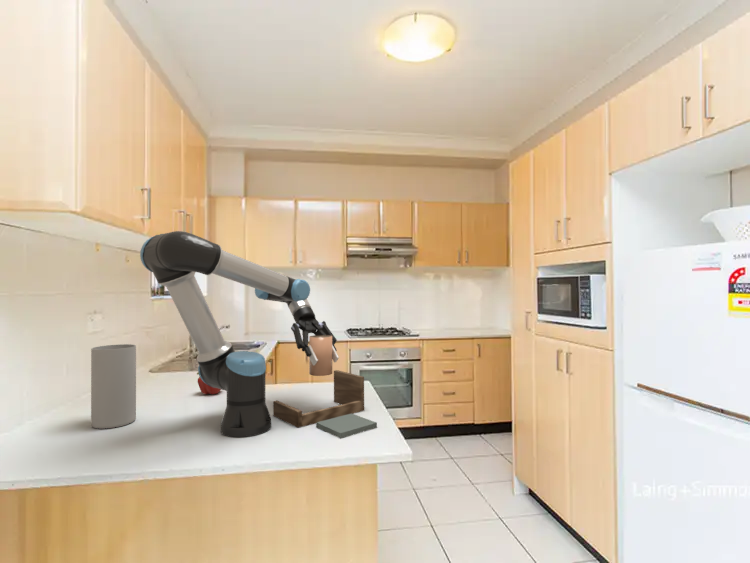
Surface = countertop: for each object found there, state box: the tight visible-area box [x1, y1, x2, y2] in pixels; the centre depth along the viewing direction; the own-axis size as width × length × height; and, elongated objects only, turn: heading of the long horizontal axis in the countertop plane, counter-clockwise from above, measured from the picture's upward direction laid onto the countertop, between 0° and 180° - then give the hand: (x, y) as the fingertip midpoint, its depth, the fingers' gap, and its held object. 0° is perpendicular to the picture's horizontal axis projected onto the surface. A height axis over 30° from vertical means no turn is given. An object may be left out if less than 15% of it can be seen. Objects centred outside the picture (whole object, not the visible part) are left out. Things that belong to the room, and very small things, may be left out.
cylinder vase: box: [90, 343, 137, 430], centre depth 137 cm, size 12×12×25 cm
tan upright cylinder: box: [308, 334, 333, 377], centre depth 146 cm, size 8×8×13 cm
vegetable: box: [196, 372, 223, 395], centre depth 174 cm, size 11×10×10 cm
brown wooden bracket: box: [272, 369, 365, 429], centre depth 146 cm, size 27×16×12 cm, turn 131°
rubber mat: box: [315, 413, 378, 439], centre depth 131 cm, size 14×13×2 cm
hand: (326, 361), depth 143 cm, fingers closed on tan upright cylinder, 8 cm apart
